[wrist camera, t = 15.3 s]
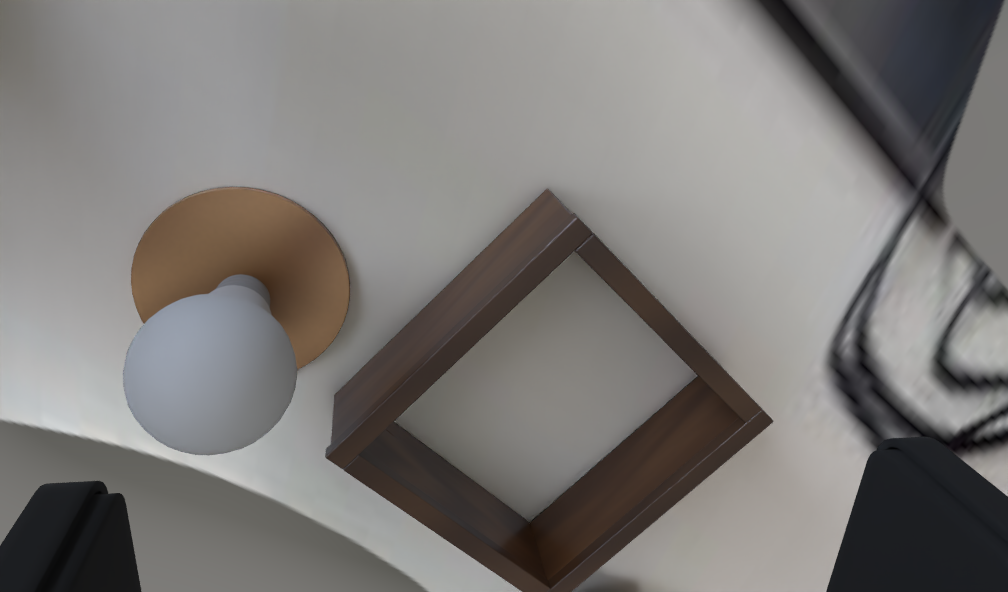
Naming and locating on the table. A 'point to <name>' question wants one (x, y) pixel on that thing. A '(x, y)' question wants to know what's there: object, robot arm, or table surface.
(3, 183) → the table surface
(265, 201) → the coaster
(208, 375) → the lightbulb
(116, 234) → the table surface
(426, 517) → the wooden frame
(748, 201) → the table surface
